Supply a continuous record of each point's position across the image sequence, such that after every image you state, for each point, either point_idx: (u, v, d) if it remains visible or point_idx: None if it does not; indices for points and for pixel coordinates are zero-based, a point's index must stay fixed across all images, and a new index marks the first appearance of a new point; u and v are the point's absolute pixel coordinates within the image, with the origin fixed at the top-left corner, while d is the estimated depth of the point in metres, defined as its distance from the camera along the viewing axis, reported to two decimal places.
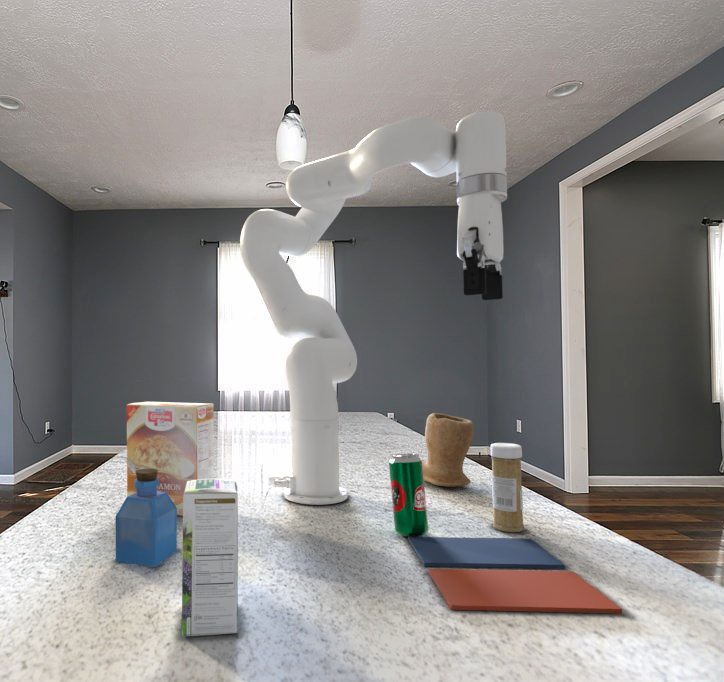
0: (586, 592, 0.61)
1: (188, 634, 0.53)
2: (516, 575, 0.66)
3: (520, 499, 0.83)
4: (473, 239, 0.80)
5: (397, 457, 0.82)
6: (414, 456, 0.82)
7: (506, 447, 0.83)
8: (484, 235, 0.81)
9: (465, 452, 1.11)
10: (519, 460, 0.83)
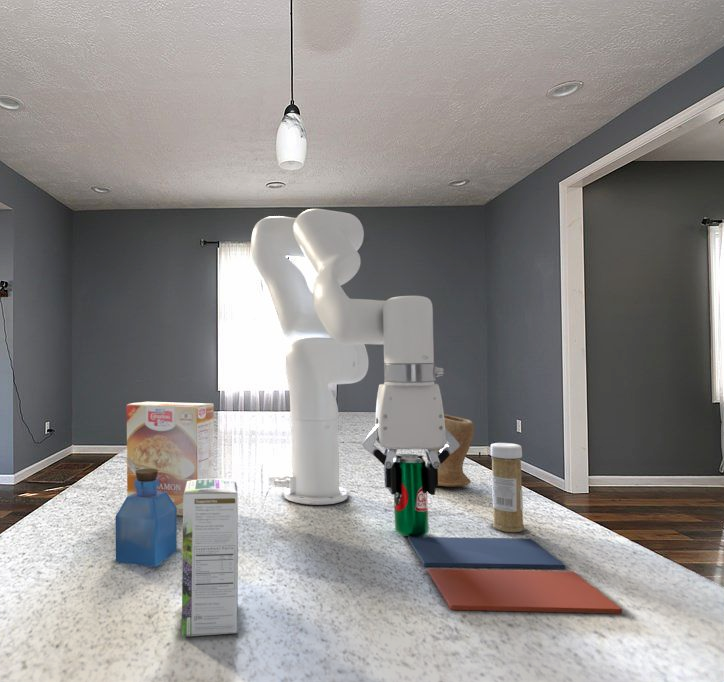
0: (586, 592, 0.61)
1: (188, 634, 0.53)
2: (516, 575, 0.66)
3: (520, 499, 0.83)
4: (371, 441, 0.82)
5: (401, 457, 0.82)
6: (418, 456, 0.82)
7: (506, 447, 0.83)
8: (379, 429, 0.81)
9: (465, 452, 1.11)
10: (519, 460, 0.83)
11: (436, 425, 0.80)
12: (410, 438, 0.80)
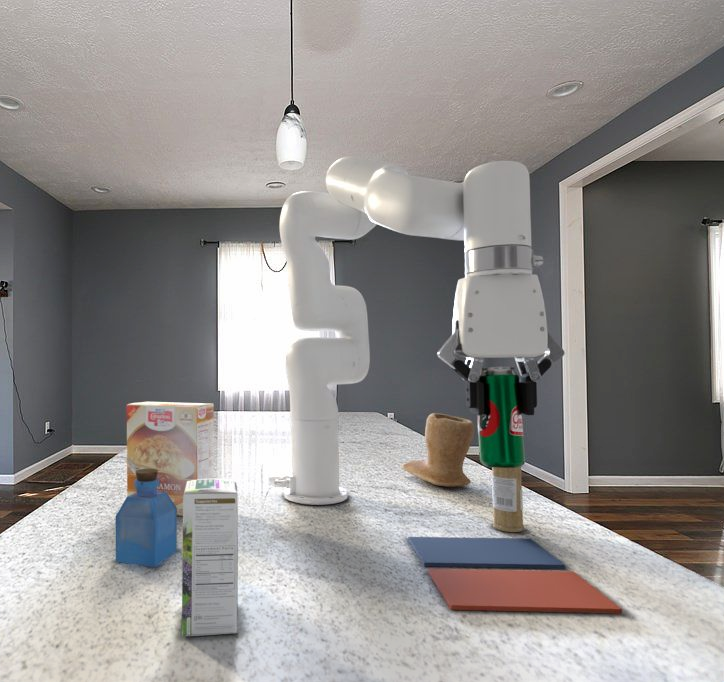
0: (586, 592, 0.61)
1: (188, 634, 0.53)
2: (516, 575, 0.66)
3: (520, 499, 0.83)
4: (451, 349, 0.65)
5: (489, 369, 0.65)
6: (511, 367, 0.64)
7: None
8: (462, 331, 0.64)
9: (465, 452, 1.11)
10: None
11: (536, 325, 0.62)
12: (503, 342, 0.63)
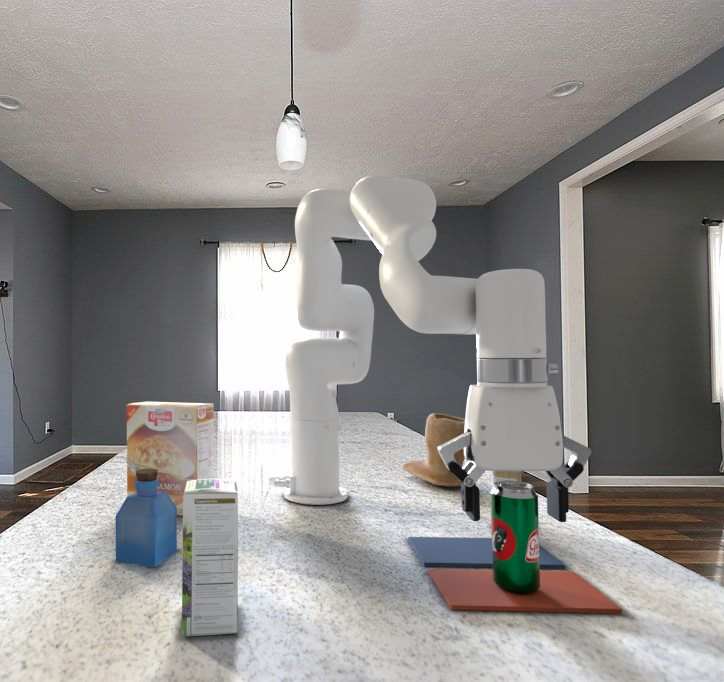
0: (586, 592, 0.61)
1: (188, 634, 0.53)
2: None
3: None
4: (453, 450, 0.63)
5: (506, 490, 0.61)
6: (530, 489, 0.61)
7: None
8: (474, 444, 0.62)
9: None
10: None
11: (552, 440, 0.60)
12: (517, 457, 0.61)
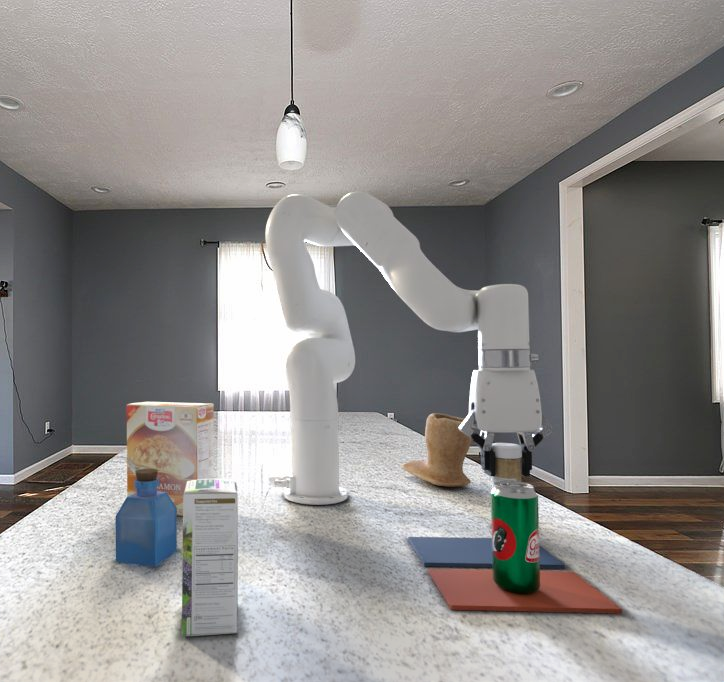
0: (586, 592, 0.61)
1: (188, 634, 0.53)
2: None
3: None
4: (469, 426, 0.85)
5: (506, 490, 0.61)
6: (530, 489, 0.61)
7: (506, 447, 0.83)
8: (477, 412, 0.84)
9: (465, 452, 1.11)
10: (519, 460, 0.83)
11: (533, 409, 0.83)
12: (508, 421, 0.83)
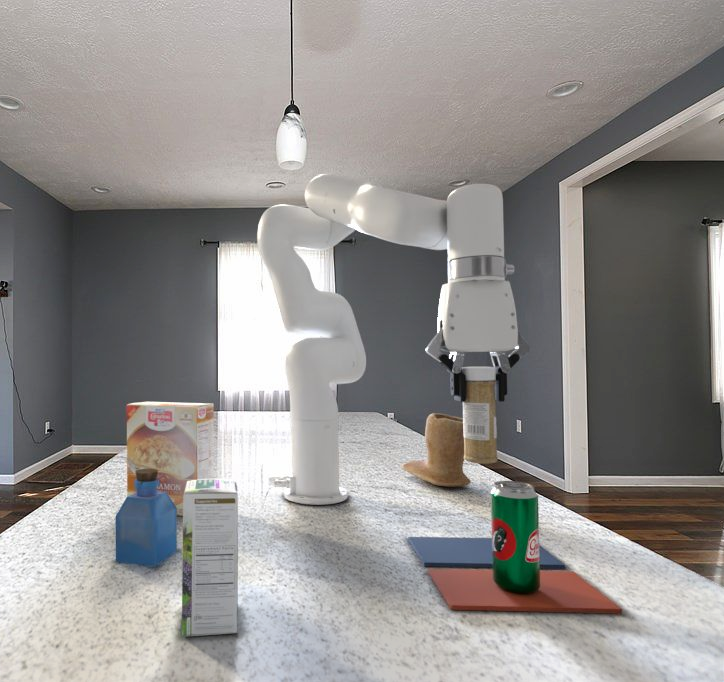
0: (586, 592, 0.61)
1: (188, 634, 0.53)
2: None
3: (493, 426, 0.73)
4: (437, 345, 0.75)
5: (506, 490, 0.61)
6: (530, 489, 0.61)
7: (478, 368, 0.74)
8: (445, 329, 0.74)
9: None
10: (492, 383, 0.74)
11: (508, 324, 0.73)
12: (479, 339, 0.73)
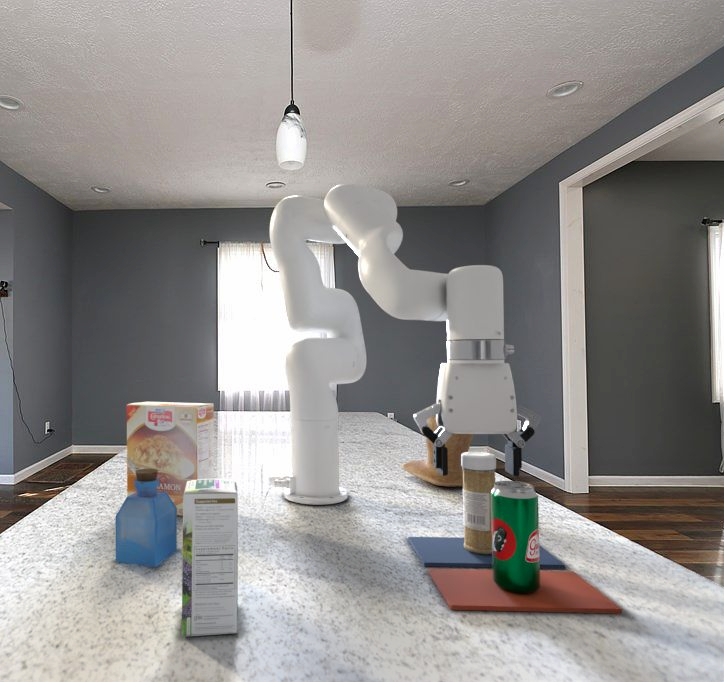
0: (586, 592, 0.61)
1: (188, 634, 0.53)
2: None
3: None
4: (426, 416, 0.75)
5: (506, 490, 0.61)
6: (530, 489, 0.61)
7: (478, 457, 0.73)
8: (443, 411, 0.74)
9: None
10: (493, 472, 0.73)
11: (507, 407, 0.73)
12: (478, 421, 0.73)
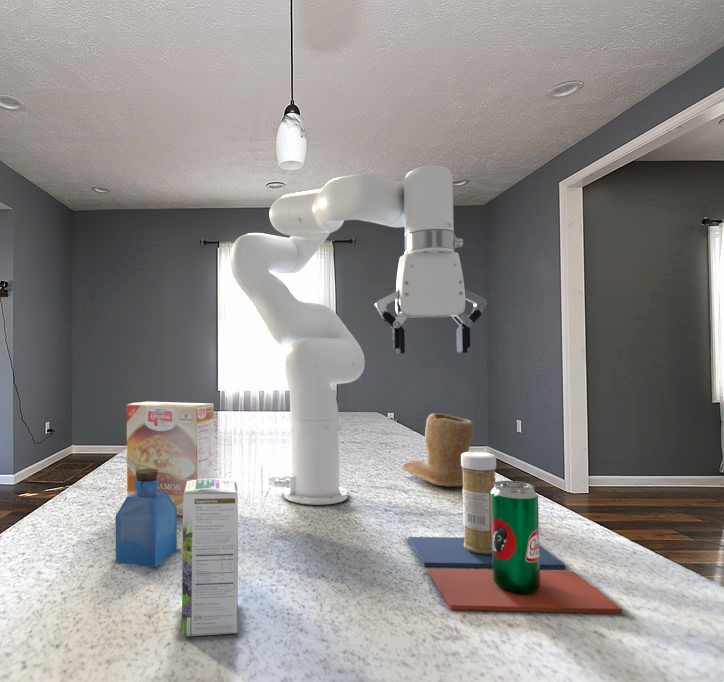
0: (586, 592, 0.61)
1: (188, 634, 0.53)
2: None
3: None
4: (385, 302, 0.85)
5: (506, 490, 0.61)
6: (530, 489, 0.61)
7: (478, 457, 0.73)
8: (400, 296, 0.83)
9: None
10: (493, 472, 0.73)
11: (456, 290, 0.82)
12: (431, 304, 0.82)
